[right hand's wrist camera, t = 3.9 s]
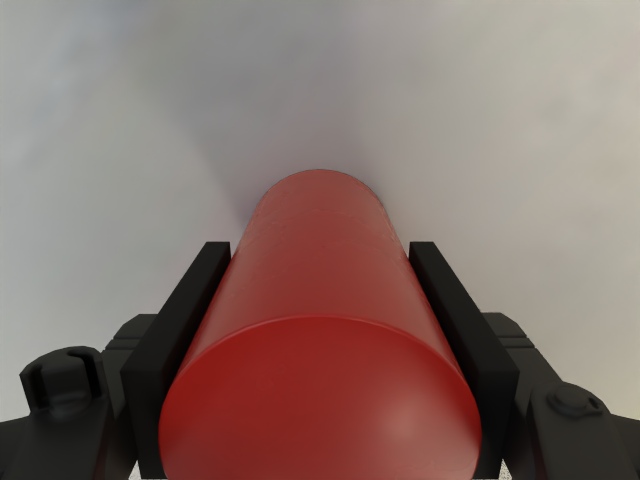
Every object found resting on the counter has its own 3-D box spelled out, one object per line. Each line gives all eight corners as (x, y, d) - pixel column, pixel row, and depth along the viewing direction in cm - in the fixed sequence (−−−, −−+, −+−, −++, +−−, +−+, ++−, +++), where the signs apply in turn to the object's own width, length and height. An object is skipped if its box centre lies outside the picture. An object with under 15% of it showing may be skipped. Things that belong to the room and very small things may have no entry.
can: (414, 259, 18) (532, 493, 8) (298, 321, 19) (274, 596, 9) (345, 140, 17) (386, 248, 6) (221, 216, 18) (86, 412, 7)
